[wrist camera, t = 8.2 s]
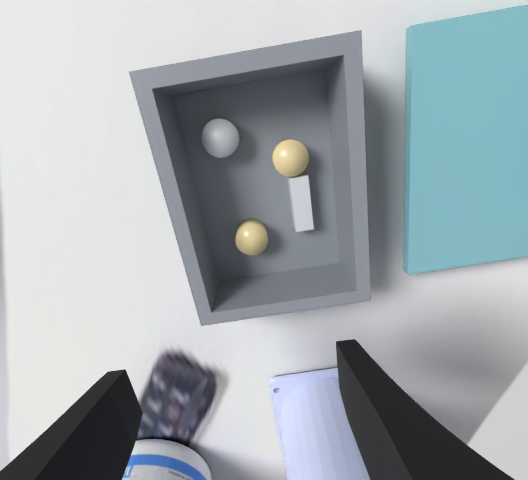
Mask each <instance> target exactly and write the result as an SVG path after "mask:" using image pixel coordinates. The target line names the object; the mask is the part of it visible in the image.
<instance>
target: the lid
mask: <svg viewBox="0 0 528 480" xmlns="http://www.w3.org/2000/svg"><path fill="white" fill-rule="evenodd" d="M527 256H528V5H524V6H518V7H513V8H507V9H501V10H496V11H490V12H485V13H479V14H473V15H468V16H462V17H456V18H451V19H445V20H440V21H434V22H428V23H423V24H417V25H412V26H411V27H409V28H407V29H406V85H405V176H404V266H403V270H404V271H405V272H406V273H407V274H408V275H409V274H415V273H422V272H428V271H435V270H441V269H448V268H455V267H461V266H468V265H474V264H481V263H487V262H494V261H500V260H507V259H514V258H520V257H527Z"/></svg>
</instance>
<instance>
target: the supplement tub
mask: <svg viewBox="0 0 528 480" xmlns="http://www.w3.org/2000/svg"><path fill="white" fill-rule="evenodd" d="M122 480H211V473H210V470H209V467H208V466H207V464H206V462H205V461H204V459H203V458H202V457H201V456H200V455H199V454H198V453H196V452H195V451H194V450H192V449H190V448H189V447H186V446H184V445H182V444H179V443H176V442H173V441H169V440H162V439H144V440H138V441H136V442H135V445H134V448H133V451H132V454H131V457H130V459H129V462H128V465H127V467H126V470H125V473H124V475H123V478H122Z"/></svg>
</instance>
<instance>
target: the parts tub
mask: <svg viewBox="0 0 528 480" xmlns="http://www.w3.org/2000/svg"><path fill="white" fill-rule="evenodd" d="M129 74H130V77H131V81H132V84H133V88H134V91H135V95H136V99H137V102H138V106H139V109H140V113H141V116H142V120H143V123H144V127H145V130H146V134H147V137H148V141H149V144H150V148H151V151H152V155H153V158H154V162H155V165H156V169H157V172H158V176H159V179H160V183H161V186H162V190H163V193H164V197H165V200H166V204H167V208H168V211H169V215H170V218H171V222H172V225H173V229H174V232H175V236H176V239H177V243H178V246H179V250H180V253H181V257H182V260H183V264H184V267H185V271H186V274H187V278H188V281H189V285H190V288H191V292H192V295H193V299H194V302H195V306H196V309H197V313H198V317H199V320H200V324H201V326H204V325H211V324H217V323H224V322H231V321H237V320H244V319H251V318H257V317H264V316H271V315H277V314H284V313H290V312H297V311H304V310H310V309H317V308H324V307H330V306H337V305H344V304H350V303H357V302H364V301H370V300H371V290H370V261H369V233H368V204H367V176H366V147H365V119H364V90H363V62H362V33H361V30H360V31H354V32H349V33H343V34H337V35H332V36H326V37H321V38H315V39H309V40H304V41H298V42H293V43H287V44H282V45H276V46H270V47H265V48H259V49H254V50H248V51H243V52H237V53H231V54H226V55H220V56H215V57H209V58H203V59H198V60H192V61H187V62H181V63H176V64H170V65H164V66H159V67H153V68H148V69H142V70H136V71H131V72H129Z"/></svg>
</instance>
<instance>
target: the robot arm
mask: <svg viewBox="0 0 528 480" xmlns="http://www.w3.org/2000/svg"><path fill="white" fill-rule="evenodd" d="M336 350H337V365H338V368H332V369H325V370H318V371H311V372H304V373H297V374H290V375H283V376H276V377H272V378H271V379H270V380H269V387H270V392H271V397H272V402H273V407H274V412H275V417H276V422H277V427H278V432H279V437H280V441H281V446H282V451H283V456H284V461H285V469H286V480H514V479H513V478H511V477H510V476H508V475H507V474H505V473H504V472H503V471H501V470H500V469H498V468H497V467H496V466H494V465H493V464H491V463H490V462H488V461H487V460H486V459H485V458H483V457H482V456H481V455H479V454H478V453H477V452H475V451H474V450H473V449H471V448H470V447H469V446H467V445H466V444H465V443H464V442H462V441H461V440H460V439H459V438H457V437H456V436H455V435H453V434H452V433H451V432H450V431H448V430H447V429H446V428H445V427H444V426H442V425H441V424H440V423H439V422H438V421H437V420H435V419H434V418H433V417H432V416H431V415H430V414H428V413H427V412H426V411H425V410H424V409H423V408H422V407H421V406H419V405H418V404H417V403H416V402H415V401H414V400H413V399H412V398H411V397H410V396H409V395H408V394H406V393H405V392H404V391H403V390H402V389H401V388H400V387H399V386H398V385H397V384H396V383H395V382H394V381H393V380H392V379H391V378H390V377H389V376H388V375H387V374H386V373H385V372H384V371H383V370H382V369H381V368H380V366H379V365H378V364H377V363H376V362H375V361H374V360H373V359H372V358H371V357H370V356H369V355H368V353H367V352H366V351H365V350H364V349H363V348H362V347H361V345H360V344H359V343H358V342H357V341H356V340H354V339H353V340H345V341H338V342H336ZM275 388H278V389H275ZM142 413H143V412H142V410H141V407H140V405H139V402H138V400H137V397H136V395H135V392H134V390H133V387H132V385H131V382H130V380H129V377H128V375H127V372H126V370H118V371H110V372H107V373H106V374H105V375H104V376H103V377H102V378H100V379H99V380H98V381H97V382H96V383H95V384H94V385H93V386H92V387H91V388H90V389H89V390H88V391H87V392H86V393H85V394H84V395H83V396H82V397H80V398H79V399H78V400H77V401H76V402H75V403H74V404H73V405H72V406H71V407H70V408H69V409H68V410H67V411H66V412H65V413H64V414H63V415H62V416H61V417H60V418H59V419H58V420H56V421H55V422H54V423H53V424H52V425H51V426H50V427H49V428H48V429H47V430H46V431H45V432H44V433H43V434H42V435H40V436H39V437H38V438H37V439H36V440H35V441H34V442H33V443H32V444H30V445H29V446H28V447H27V448H26V449H25V450H24V451H23V452H22V453H20V454H19V455H18V456H17V457H16V458H15V459H14V460H13V461H12V462H10V463H9V464H8V465H7V466H6V467H5V468H4V469H2V470H1V471H0V480H122V478H123V475H124V473H125V470H126V467H127V465H128V462H129V459H130V457H131V454H132V451H133V448H134V445H135V442H136V438H137V434H138V430H139V426H140V422H141V418H142Z"/></svg>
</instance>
